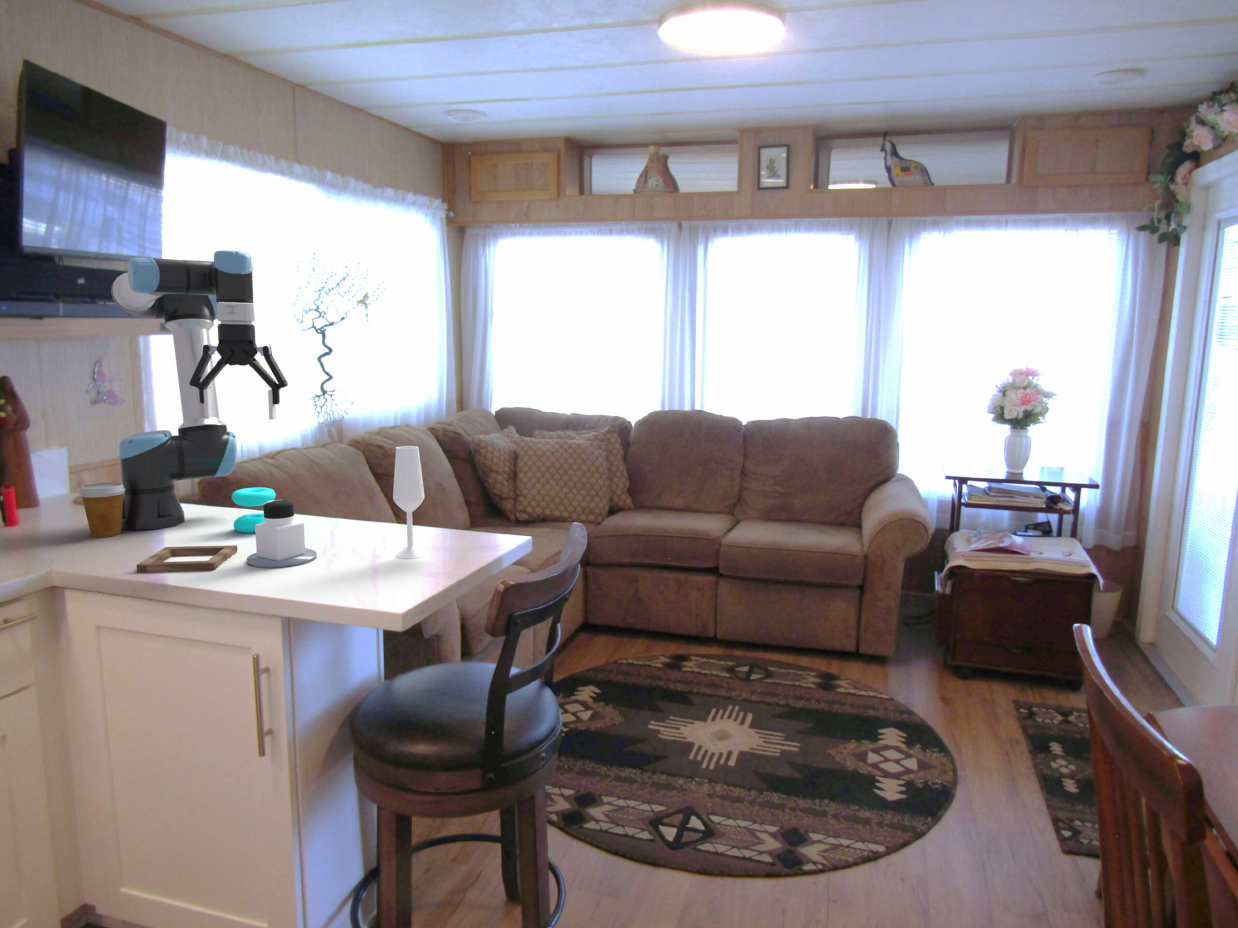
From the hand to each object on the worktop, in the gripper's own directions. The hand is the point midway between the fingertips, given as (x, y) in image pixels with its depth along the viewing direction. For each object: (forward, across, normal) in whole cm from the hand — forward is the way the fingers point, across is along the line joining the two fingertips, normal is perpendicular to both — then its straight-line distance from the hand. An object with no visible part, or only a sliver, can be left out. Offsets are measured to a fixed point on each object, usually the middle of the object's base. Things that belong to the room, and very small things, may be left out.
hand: (241, 418), depth 190 cm
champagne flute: (+28, +38, -13) cm, 50 cm away
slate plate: (+29, +11, -14) cm, 34 cm away
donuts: (+30, -2, +16) cm, 34 cm away
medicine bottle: (+28, +11, -14) cm, 33 cm away
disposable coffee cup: (+30, -36, +14) cm, 50 cm away
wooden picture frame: (+29, -8, -14) cm, 33 cm away
